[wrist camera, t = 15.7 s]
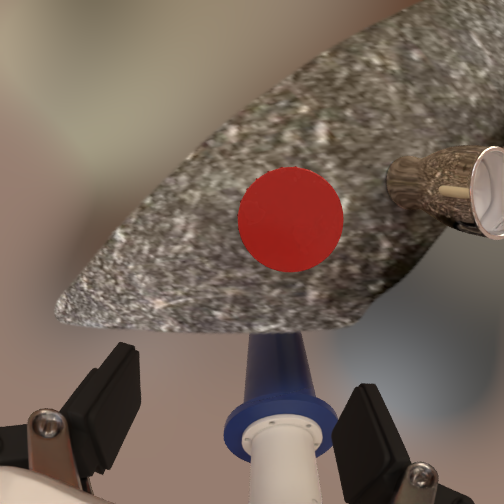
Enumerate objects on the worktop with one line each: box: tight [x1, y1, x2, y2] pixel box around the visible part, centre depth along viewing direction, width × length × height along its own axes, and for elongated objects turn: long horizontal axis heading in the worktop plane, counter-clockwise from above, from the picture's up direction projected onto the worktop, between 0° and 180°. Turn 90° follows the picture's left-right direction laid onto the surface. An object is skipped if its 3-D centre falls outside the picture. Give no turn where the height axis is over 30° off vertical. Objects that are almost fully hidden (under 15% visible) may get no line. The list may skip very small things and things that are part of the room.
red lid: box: [237, 166, 343, 272], centre depth 19 cm, size 7×7×2 cm
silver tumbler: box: [386, 145, 504, 240], centre depth 21 cm, size 7×7×15 cm
